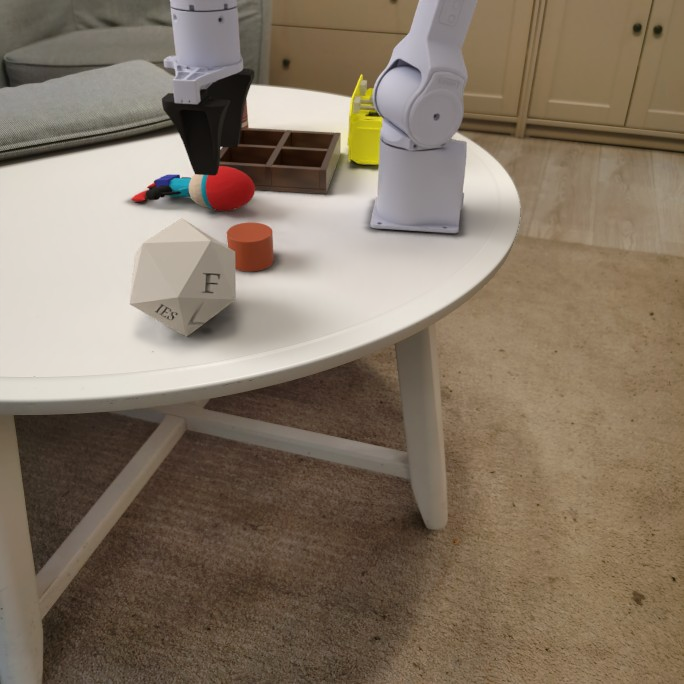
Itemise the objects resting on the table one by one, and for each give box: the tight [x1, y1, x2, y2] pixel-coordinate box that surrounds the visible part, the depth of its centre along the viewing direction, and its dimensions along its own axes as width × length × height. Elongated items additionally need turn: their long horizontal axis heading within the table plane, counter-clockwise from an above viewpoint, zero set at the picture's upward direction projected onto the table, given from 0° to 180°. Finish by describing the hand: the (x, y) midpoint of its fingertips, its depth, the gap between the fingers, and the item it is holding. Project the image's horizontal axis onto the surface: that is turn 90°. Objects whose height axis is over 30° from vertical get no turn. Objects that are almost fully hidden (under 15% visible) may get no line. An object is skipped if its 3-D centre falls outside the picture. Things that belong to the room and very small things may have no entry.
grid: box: [219, 127, 342, 195], centre depth 90 cm, size 14×14×3 cm
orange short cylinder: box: [226, 221, 275, 273], centre depth 69 cm, size 4×4×3 cm
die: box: [129, 217, 237, 338], centre depth 59 cm, size 8×9×10 cm
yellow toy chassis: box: [347, 74, 382, 166], centre depth 96 cm, size 16×6×8 cm, turn 173°
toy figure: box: [130, 166, 256, 212], centre depth 81 cm, size 8×5×15 cm
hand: (217, 159), depth 69 cm, fingers open, 7 cm apart
